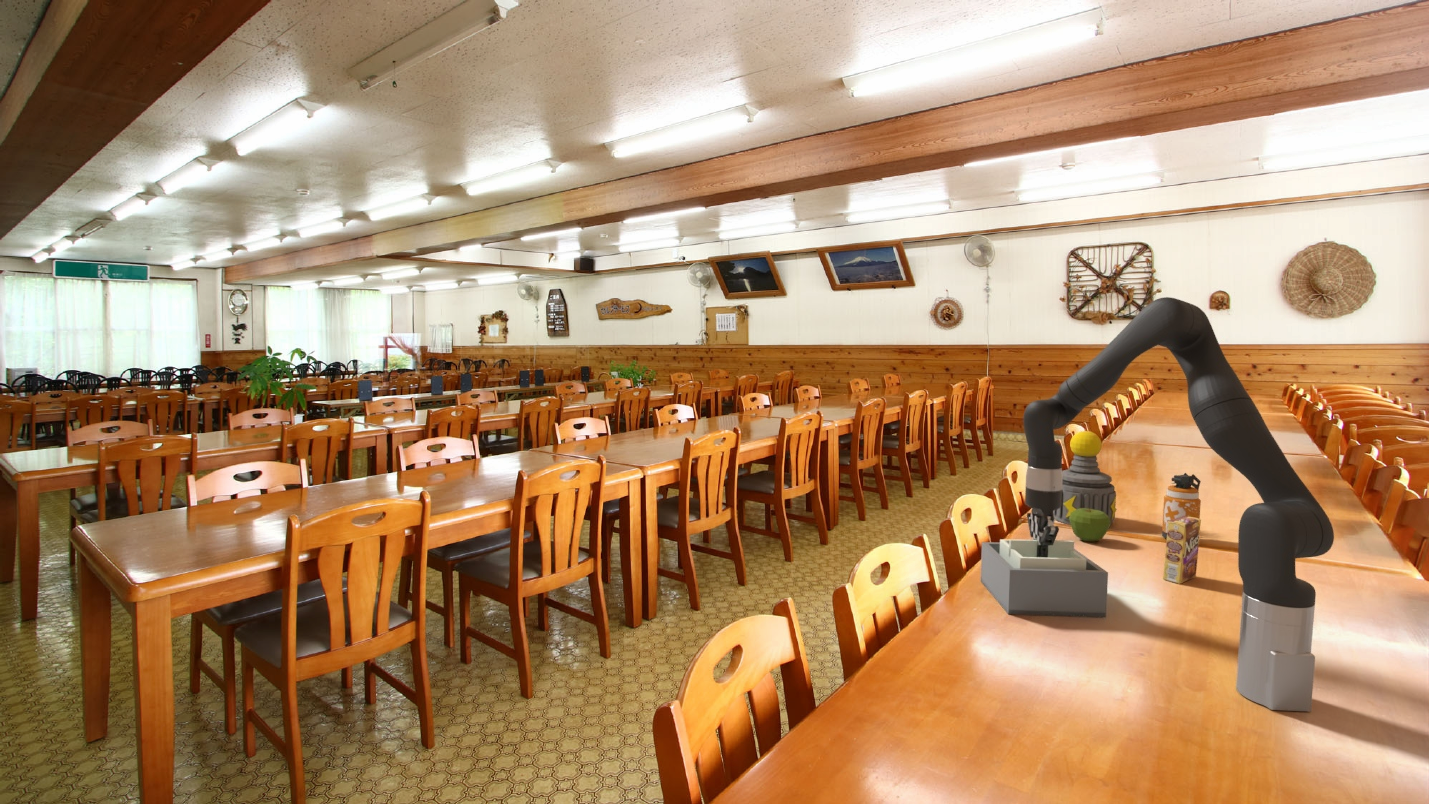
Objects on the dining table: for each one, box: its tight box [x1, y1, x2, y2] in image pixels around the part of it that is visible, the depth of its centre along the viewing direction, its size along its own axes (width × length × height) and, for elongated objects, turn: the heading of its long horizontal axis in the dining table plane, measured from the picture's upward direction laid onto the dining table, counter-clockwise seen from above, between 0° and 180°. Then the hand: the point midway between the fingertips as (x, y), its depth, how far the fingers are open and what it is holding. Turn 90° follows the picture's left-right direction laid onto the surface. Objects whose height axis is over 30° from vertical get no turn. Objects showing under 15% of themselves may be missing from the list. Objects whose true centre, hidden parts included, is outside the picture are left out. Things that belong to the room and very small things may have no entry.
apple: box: [1069, 508, 1111, 543], centre depth 201 cm, size 11×10×10 cm
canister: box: [1161, 472, 1202, 540], centre depth 201 cm, size 9×11×20 cm
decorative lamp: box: [1053, 430, 1117, 526], centre depth 223 cm, size 19×19×30 cm
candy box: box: [1162, 516, 1202, 585], centre depth 169 cm, size 9×4×15 cm, turn 123°
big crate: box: [980, 541, 1109, 618], centre depth 157 cm, size 20×20×10 cm
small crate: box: [999, 538, 1086, 570], centre depth 156 cm, size 14×14×9 cm
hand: (1040, 559), depth 157 cm, fingers closed on small crate, 1 cm apart
